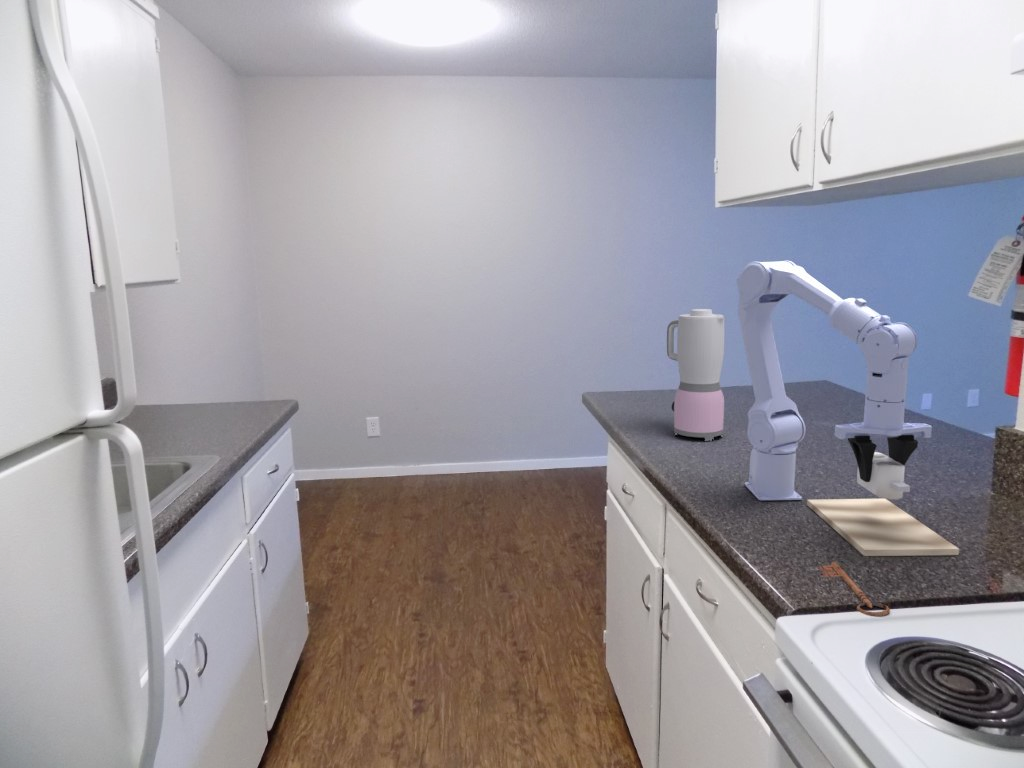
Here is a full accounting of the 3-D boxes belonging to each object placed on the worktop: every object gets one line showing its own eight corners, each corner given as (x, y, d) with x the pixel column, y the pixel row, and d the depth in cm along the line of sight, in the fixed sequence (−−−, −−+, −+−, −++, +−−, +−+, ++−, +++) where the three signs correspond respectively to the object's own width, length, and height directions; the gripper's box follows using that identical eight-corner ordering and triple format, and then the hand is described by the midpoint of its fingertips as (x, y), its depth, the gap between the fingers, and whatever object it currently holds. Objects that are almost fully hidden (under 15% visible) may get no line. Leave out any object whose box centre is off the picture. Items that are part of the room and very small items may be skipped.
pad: (806, 504, 126) (807, 499, 126) (884, 503, 125) (885, 498, 125) (864, 556, 104) (864, 549, 104) (958, 555, 104) (959, 548, 104)
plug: (852, 479, 118) (854, 451, 117) (876, 479, 118) (878, 451, 117) (889, 504, 106) (892, 473, 105) (915, 504, 106) (918, 473, 105)
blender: (732, 435, 175) (737, 309, 169) (708, 445, 166) (712, 312, 161) (678, 425, 186) (680, 306, 180) (653, 434, 178) (654, 310, 172)
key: (807, 568, 102) (846, 620, 88) (807, 563, 102) (846, 613, 87) (847, 566, 102) (894, 617, 87) (847, 560, 101) (894, 610, 87)
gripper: (850, 405, 107) (845, 488, 110) (945, 403, 107) (938, 487, 109) (831, 396, 114) (826, 474, 116) (920, 394, 114) (913, 473, 116)
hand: (879, 479), depth 113 cm, fingers closed on plug, 4 cm apart
